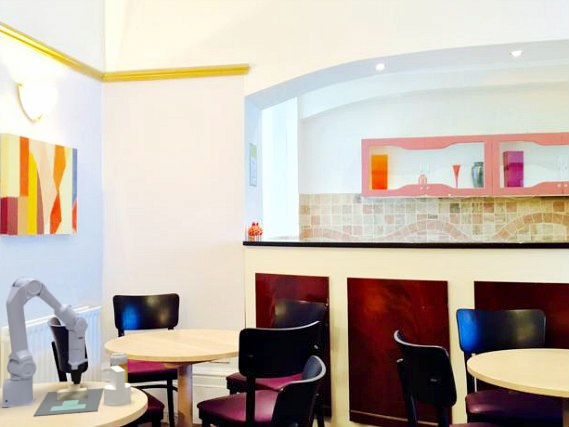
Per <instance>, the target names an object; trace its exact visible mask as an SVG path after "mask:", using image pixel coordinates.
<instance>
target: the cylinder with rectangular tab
mask: <svg viewBox="0 0 569 427" xmlns="http://www.w3.org/2000/svg"><path fill="white" fill-rule="evenodd" d="M131 386H132V385H131V383H130V382H128V383H125V370H124V369H122V368H121V367H119V366H113V367H110V366H109V383H108V384H106V385H105V386H103V388H104V390H103V405H105V406H109V407H118V406H125V405H127V404H131V403H132V398H131V397H132V396H131V395H132V394H131V392H132V391H131V389H132V387H131ZM130 402H131V403H130Z"/></svg>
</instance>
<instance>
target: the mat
mask: <svg viewBox="0 0 569 427" xmlns="http://www.w3.org/2000/svg"><path fill="white" fill-rule="evenodd" d="M103 394H104V387H102V388H90V389H89V388H88V396H87V399H78V400H65V401H57V391H49V392H47V393H46V395H45V396H44V398H43V400H42V401H41V402H40V404H39V406H38V408H37V409H36V410H35V412H34V414H33V417H35V418H36V417H43V416H44V417H47V416H59V415H71V414H83V413H96V412H99V411H98V410H99V407H100V403H101V399H102V396H103Z"/></svg>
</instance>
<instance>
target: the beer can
mask: <svg viewBox="0 0 569 427" xmlns="http://www.w3.org/2000/svg"><path fill="white" fill-rule="evenodd" d="M109 358H110V359H109V362H110V363H109V364H110V366H109V368H110V367H113V366H119V367H121V368H122V369H124V370H125V383H129V382H128V378H129V377H128V354H127V352H125V351H120V352H119V351H117V352H112V353H111V356H110V357H109Z"/></svg>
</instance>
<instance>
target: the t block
mask: <svg viewBox="0 0 569 427" xmlns="http://www.w3.org/2000/svg"><path fill="white" fill-rule="evenodd" d="M88 389H89V387H82V384H81V383H80V384H74V383H73V384H69V385H68V387H67V388H65V389H64V388H62V389H60V388H59V389H57V391H56V392H57V401H65V400H78V399H87V396H88Z"/></svg>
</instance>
